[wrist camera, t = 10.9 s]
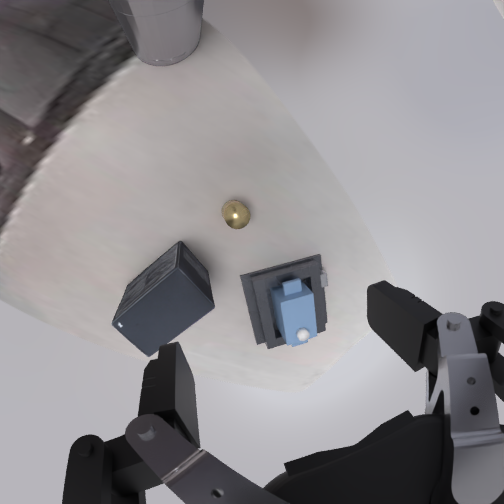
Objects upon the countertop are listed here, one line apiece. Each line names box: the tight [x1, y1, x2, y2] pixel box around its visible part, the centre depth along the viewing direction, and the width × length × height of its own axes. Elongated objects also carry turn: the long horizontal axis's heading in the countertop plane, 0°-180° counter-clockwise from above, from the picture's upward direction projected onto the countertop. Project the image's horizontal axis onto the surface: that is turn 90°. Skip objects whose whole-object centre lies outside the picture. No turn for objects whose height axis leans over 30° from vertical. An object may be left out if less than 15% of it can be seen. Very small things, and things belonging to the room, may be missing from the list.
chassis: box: [240, 254, 328, 349], centre depth 42 cm, size 12×12×3 cm
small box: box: [112, 241, 215, 357], centre depth 33 cm, size 11×6×10 cm, turn 127°
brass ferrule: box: [222, 200, 250, 229], centre depth 36 cm, size 3×3×4 cm
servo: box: [270, 278, 317, 347], centre depth 39 cm, size 10×4×6 cm, turn 11°
